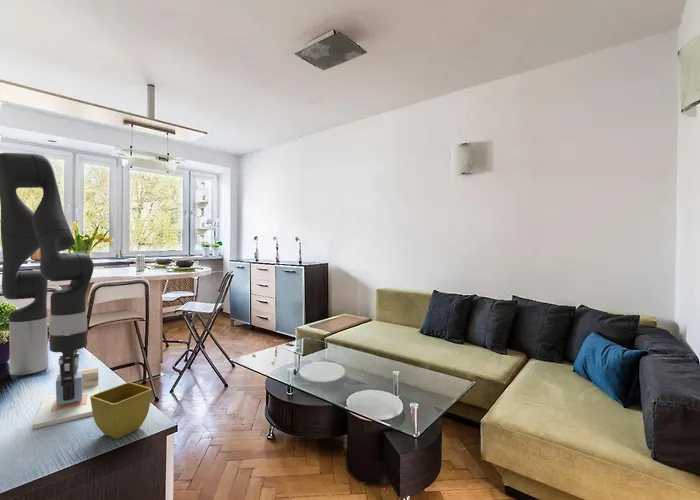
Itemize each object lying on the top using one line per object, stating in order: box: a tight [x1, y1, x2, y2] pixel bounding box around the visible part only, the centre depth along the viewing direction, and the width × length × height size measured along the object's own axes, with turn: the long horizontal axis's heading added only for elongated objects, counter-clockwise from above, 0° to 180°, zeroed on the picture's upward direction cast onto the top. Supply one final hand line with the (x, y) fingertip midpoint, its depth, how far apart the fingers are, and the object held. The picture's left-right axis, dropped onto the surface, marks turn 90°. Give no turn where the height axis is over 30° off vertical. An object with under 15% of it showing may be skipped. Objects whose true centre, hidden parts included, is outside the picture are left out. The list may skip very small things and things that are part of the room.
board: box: [32, 385, 100, 430], centre depth 89 cm, size 18×12×1 cm, turn 36°
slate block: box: [55, 370, 83, 405], centre depth 89 cm, size 5×5×6 cm
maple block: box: [78, 366, 99, 388], centre depth 101 cm, size 4×4×5 cm
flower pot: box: [90, 381, 153, 440], centre depth 77 cm, size 9×9×9 cm
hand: (69, 395), depth 89 cm, fingers closed on slate block, 5 cm apart
